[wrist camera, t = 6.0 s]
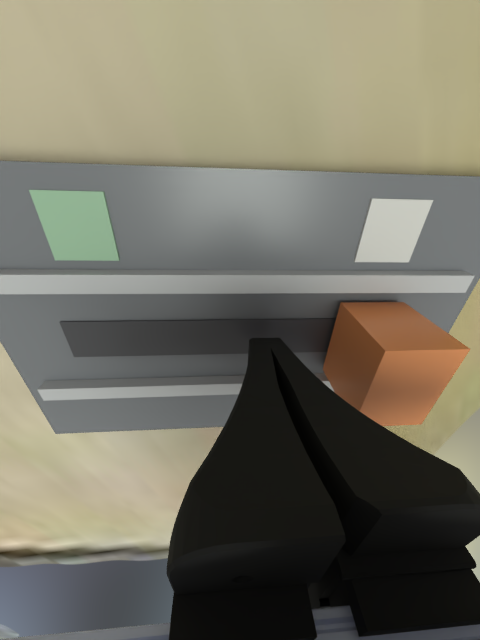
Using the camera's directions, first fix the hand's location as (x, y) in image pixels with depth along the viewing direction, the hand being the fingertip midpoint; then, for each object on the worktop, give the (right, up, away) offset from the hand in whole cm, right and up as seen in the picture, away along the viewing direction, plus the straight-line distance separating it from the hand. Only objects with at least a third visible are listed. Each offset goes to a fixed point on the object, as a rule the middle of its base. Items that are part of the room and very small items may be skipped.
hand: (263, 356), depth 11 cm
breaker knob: (+5, +1, +1) cm, 5 cm away
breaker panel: (-1, +2, +3) cm, 4 cm away
